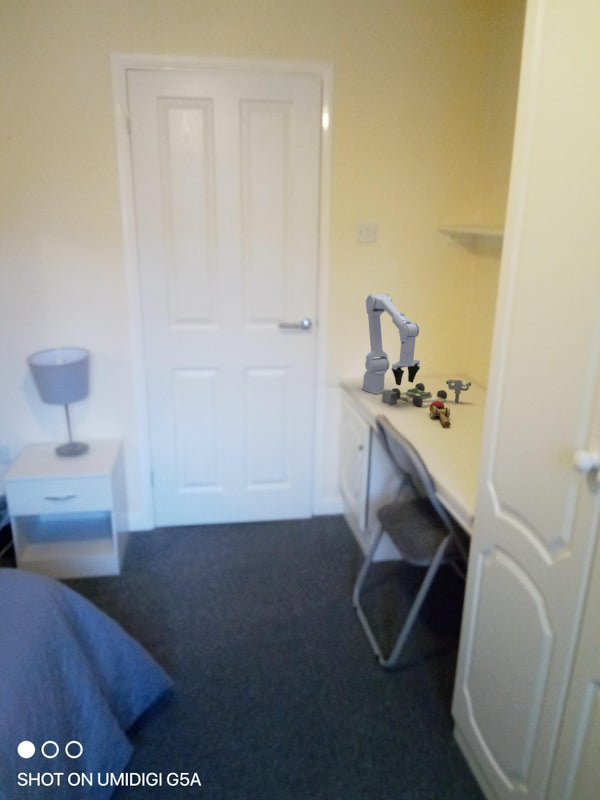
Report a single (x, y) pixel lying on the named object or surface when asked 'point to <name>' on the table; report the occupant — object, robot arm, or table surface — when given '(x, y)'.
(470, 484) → the table surface
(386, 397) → the block
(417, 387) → the chassis
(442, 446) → the table surface
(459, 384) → the mechanical component
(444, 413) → the kendama
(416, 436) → the table surface
